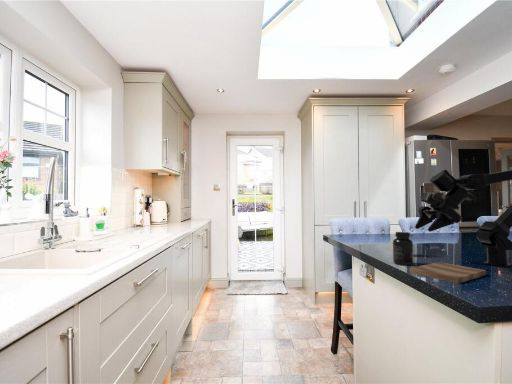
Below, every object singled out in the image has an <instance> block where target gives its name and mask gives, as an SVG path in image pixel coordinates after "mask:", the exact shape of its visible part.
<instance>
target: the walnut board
mask: <svg viewBox="0 0 512 384" xmlns="http://www.w3.org/2000/svg"><path fill="white" fill-rule="evenodd" d="M409 274H413V275H419V276H422V277H426V276H427V278H430V279H431V278H432V279H435V280H440V281H445V282H450V283H453V284H458V285H459V284H461V283H462V284H463V283H465V282H468V281H472V280H474V279H478V278H480V277H484V276H487V271H486V269H480V268H474V267H469V266H464V265H463V266H462V265H457V264H452V263H446V262H440V261H438V262H433V263H427V264H424V265H418V266H414V267H409Z"/></svg>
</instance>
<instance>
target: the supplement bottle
mask: <svg viewBox="0 0 512 384" xmlns="http://www.w3.org/2000/svg"><path fill="white" fill-rule="evenodd" d="M395 237H396V239H395ZM395 237H394V239H393V240H392V260H393V263H394V264H395V265H398V266H413V265H414V242H413V240H412V239H409V238H411V236H410V232H407V231H395Z"/></svg>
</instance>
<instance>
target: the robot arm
mask: <svg viewBox="0 0 512 384" xmlns="http://www.w3.org/2000/svg"><path fill="white" fill-rule="evenodd" d="M507 181H512V169H509V170H503V171H498V172H492V173H472V174H467V175H461V176H460V177H458V178H455V177H454V176H453V175H452V174H451V173H450V171H448V169H444V170H443V169H442V170H441V171H439V172H438V173H436V174H435V175H433V176H432V177H430V179H429V182H430V183H431V184H432V185H433V186H434V187H435V188H437V189H438V190H439V192H438V191H435V192H434V193H433V192H423V193H422V196H421V198H420V202H423V203H425V204H428V205H429V206H428V205H427V206H424V205H423V206H420V207H419V208H418V209H417V211H418V214H419V217H418V220H417V221H416V223H415V226H414V228H415V229H416V230H419V229H421V228H423V227H425V226H427V225H429V224H430V225H429V227H428V228H427V231H428V232H429V233H431V232H434V231H437V230H440V229H441V228H445V227H449V226H450V225H454V224H459V223H460V222H461V220H462V215H461V214H460V213H459V212H457V210H459V209H460V207H459V206H460V204H462V203H463V202H464V201H465V200H466V201H474V199H475V198H474V195H473V194H474V192H469V191H473V190H480V189H482V188H486V187H487V186H489V185H491V184H495V183H496V184H497V183H501V182H507ZM444 192H445V193H446V194H445V195H443V196H442V193H444ZM511 228H512V204H511V205H510V206H508V208H506V210H504V211H503V213H501V214H500V215H499V216H498V217H497V218H496V219H495V220H494V221H489V220H488V221H487V220H486V221H484V222H483V223H482V224H481V226H479V227H477V229H478V230H477V231H476V238H477V239H478V241H479V243H480V245H481V246H482V247H486V261H484V262H483V263H482V264H484V265H490V266H497V267H502V268H507V267H510V266H512V263H511V262H510V263H509V262H508V261H509V256H508V251H510V250H511V251H512V241H511V239H510V238H509V236H510V232H511Z"/></svg>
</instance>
